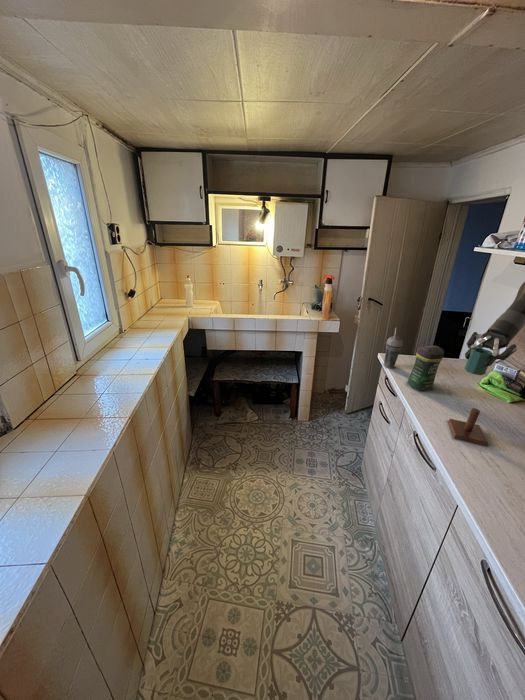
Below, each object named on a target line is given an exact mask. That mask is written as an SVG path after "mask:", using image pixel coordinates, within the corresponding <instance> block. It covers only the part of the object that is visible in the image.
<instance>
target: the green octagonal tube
mask: <svg viewBox="0 0 525 700" xmlns="http://www.w3.org/2000/svg"><path fill="white" fill-rule="evenodd" d="M492 355H493V351H492V350H491V351H490V350H489V349H486V348H482V349H481V348H472V350H471V352H470V355H469V358H468V359H466V360H467V361H466V363H465V366H464V371H466V372H468V373H470V374H472V375H476V376H484V375H486V372H487V370H488V368H489V366H488V367H486V366H484V363H485V362H486V360H487V359H488V358H489V357H490V356H492Z"/></svg>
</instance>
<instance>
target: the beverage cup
mask: <svg viewBox="0 0 525 700" xmlns="http://www.w3.org/2000/svg"><path fill="white" fill-rule="evenodd" d="M403 343H404V342H403V340H402V338H401V337H400V336H397V327H395V328H394V335H393V336H390V337H389V338H388V339H387V340H386V343H385V354H384V360H383V366H384V367H385V368H387V369H395V368H394V367H395V365H396V363H397V360H398V357H399V355H400V352H401V350H402V348H403Z"/></svg>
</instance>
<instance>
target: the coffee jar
mask: <svg viewBox="0 0 525 700" xmlns="http://www.w3.org/2000/svg"><path fill="white" fill-rule="evenodd" d="M415 355H416V356H415V361H414V363H413V366H412V369H411V372H410V374H409V377H408V379H407V384H408V386H409V387H410V388H412V389H414V390H417V391H427V390H431V389H433V387H434V384H435V379H436V375H437V372H438V369H439V366H440V363H441V362H442V360H443V359H444V355H445V351H444V348H442V347H439V346H437V345H428V346H427V345H426V346H420V347H418V349H417V351H416V354H415Z"/></svg>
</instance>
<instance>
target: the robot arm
mask: <svg viewBox="0 0 525 700" xmlns="http://www.w3.org/2000/svg"><path fill="white" fill-rule="evenodd" d="M524 327H525V281H524V282H523V283H521V285H520V287H519V288H518V291H517V293H516V295H515V298H514V300H513V302H512V303H511V304H510V306H509V307H508V308H507V309H506V310H505V311H504V312H503V313H501V314H500V315H499V317H497V319H496V320H495V321H494V322H493V323H492V324H491V325H490V327H488V329H487V331H486V332H484V333H478V332H477V331H474V332H472V334H471V336H470V337H469V339H468V341H467V342H466V346H467V349H468V350H466V352H465V353H464V357H465V359H466V360H468V358H469V355H470V352H471V350H472V348H481V349H488V350H491V351H492V353H493V355H492V356H490V357H489V358H488V359H487V360H486V362H485V363H484V366H486V367H488V368H489V367H491V366H492V365H494V363H495V362H496V361H497V360H500V361H505V360H506V359H508V358H510V356H512V355H513V354H514V353H515V352H517V350H518V347H517V344H515V343H513V344H512V343H510V342H511V341H513V339H514V338H515V337H516V336H517V335H518V334H519V333H520V332H521V330H523V328H524ZM504 348H506V349H505V350H504V351H502V352H501V351H500V350H501V349H504ZM500 352H501V353H500Z"/></svg>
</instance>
